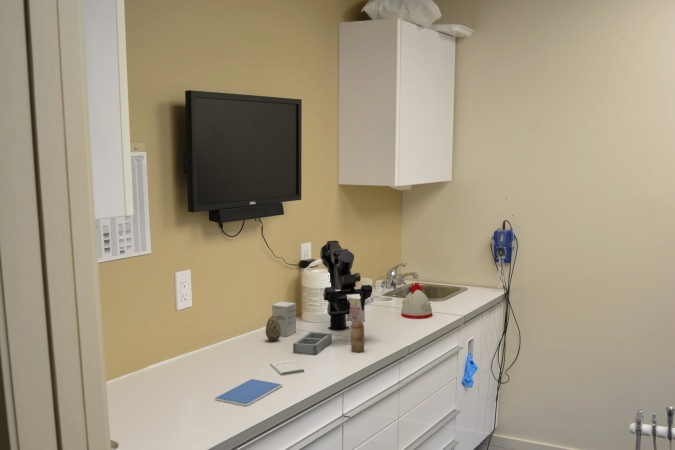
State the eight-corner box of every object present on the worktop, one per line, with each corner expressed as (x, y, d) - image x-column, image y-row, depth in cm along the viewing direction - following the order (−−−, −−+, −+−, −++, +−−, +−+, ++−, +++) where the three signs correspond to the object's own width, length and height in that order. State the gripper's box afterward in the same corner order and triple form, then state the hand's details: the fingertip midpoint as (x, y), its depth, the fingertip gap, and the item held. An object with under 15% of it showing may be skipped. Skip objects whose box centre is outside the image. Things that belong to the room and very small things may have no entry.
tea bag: (350, 319, 291) (350, 297, 290) (364, 321, 289) (364, 298, 288) (347, 321, 288) (346, 299, 287) (361, 323, 285) (360, 300, 284)
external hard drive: (281, 377, 217) (269, 366, 229) (304, 373, 221) (292, 363, 232) (281, 372, 217) (269, 362, 229) (304, 368, 220) (292, 358, 232)
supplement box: (272, 335, 268) (271, 304, 267) (281, 330, 274) (281, 301, 273) (287, 337, 265) (286, 306, 263) (296, 332, 271) (296, 302, 270)
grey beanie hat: (394, 315, 298) (394, 283, 296) (415, 310, 307) (414, 279, 305) (418, 320, 287) (418, 287, 286) (438, 315, 297) (438, 282, 295)
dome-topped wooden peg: (356, 348, 247) (356, 318, 246) (366, 350, 244) (366, 320, 243) (348, 351, 244) (348, 321, 243) (358, 353, 241) (358, 322, 239)
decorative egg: (272, 337, 264) (272, 313, 263) (284, 340, 260) (283, 315, 259) (262, 341, 259) (262, 316, 258) (274, 343, 255) (273, 318, 254)
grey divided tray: (310, 340, 258) (310, 332, 258) (331, 342, 255) (331, 333, 255) (293, 352, 242) (293, 343, 242) (316, 354, 239) (315, 345, 239)
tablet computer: (246, 409, 190) (246, 404, 190) (212, 401, 196) (212, 397, 196) (283, 388, 207) (283, 384, 207) (251, 382, 213) (251, 378, 213)
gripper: (324, 266, 251) (330, 301, 242) (371, 264, 255) (379, 298, 246) (320, 282, 260) (326, 317, 251) (366, 280, 264) (373, 313, 255)
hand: (351, 311), depth 250 cm, fingers open, 9 cm apart
